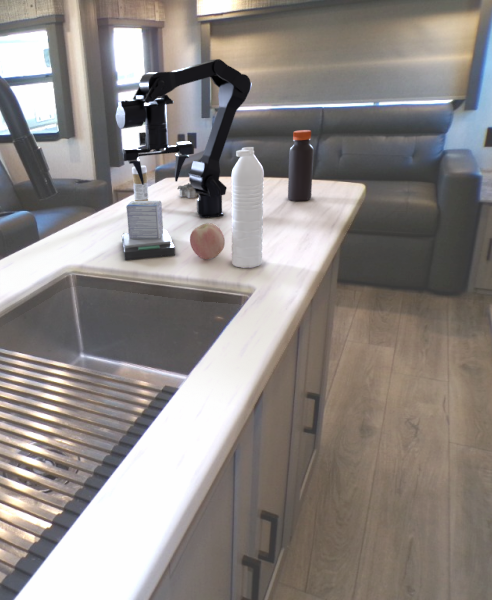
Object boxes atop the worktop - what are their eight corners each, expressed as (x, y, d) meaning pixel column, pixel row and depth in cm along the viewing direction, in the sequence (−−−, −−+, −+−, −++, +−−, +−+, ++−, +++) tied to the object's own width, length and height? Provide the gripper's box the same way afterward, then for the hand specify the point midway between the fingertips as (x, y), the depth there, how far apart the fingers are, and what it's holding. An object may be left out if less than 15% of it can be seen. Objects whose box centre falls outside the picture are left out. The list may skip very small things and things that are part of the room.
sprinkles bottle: (142, 206, 175) (139, 164, 170) (152, 208, 172) (149, 165, 166) (132, 209, 172) (128, 167, 167) (141, 211, 169) (138, 168, 164)
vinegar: (313, 196, 166) (317, 129, 158) (307, 202, 161) (311, 132, 153) (291, 195, 169) (293, 129, 161) (285, 201, 164) (287, 133, 156)
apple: (202, 250, 129) (201, 218, 126) (230, 255, 125) (230, 221, 121) (184, 260, 124) (182, 227, 121) (213, 265, 119) (212, 231, 116)
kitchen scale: (167, 238, 141) (167, 228, 140) (175, 255, 128) (174, 244, 127) (122, 242, 141) (121, 233, 140) (124, 260, 128) (124, 249, 127)
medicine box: (163, 234, 135) (161, 200, 132) (159, 239, 131) (157, 204, 128) (133, 234, 138) (131, 200, 134) (128, 239, 134) (125, 205, 131)
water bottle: (235, 257, 123) (235, 145, 113) (264, 259, 120) (267, 144, 110) (225, 270, 116) (224, 152, 106) (256, 273, 113) (258, 151, 103)
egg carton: (191, 199, 178) (191, 186, 176) (175, 196, 184) (175, 184, 182) (213, 192, 184) (213, 180, 182) (197, 189, 189) (196, 178, 188)
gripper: (186, 117, 149) (188, 174, 155) (119, 124, 149) (124, 180, 155) (193, 121, 139) (195, 181, 145) (121, 128, 139) (126, 188, 145)
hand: (159, 183), depth 148 cm, fingers open, 9 cm apart
